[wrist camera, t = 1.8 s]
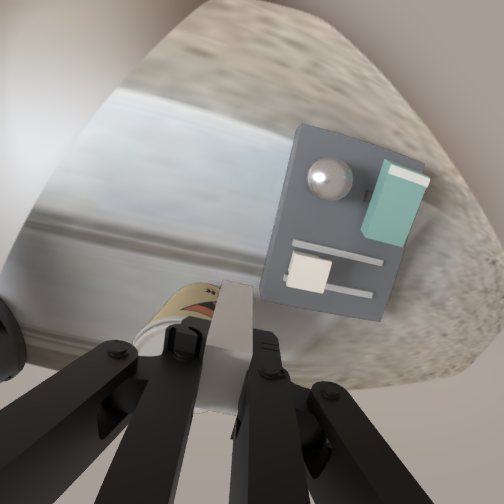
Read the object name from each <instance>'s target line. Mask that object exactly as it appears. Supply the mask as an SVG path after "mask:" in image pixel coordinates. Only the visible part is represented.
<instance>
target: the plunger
mask: <svg viewBox="0 0 504 504" xmlns="http://www.w3.org/2000/svg"><path fill="white" fill-rule="evenodd" d="M304 179H305V185H306V187H307V189H308V190H309V192H310V193H311V194H313V195H314V196H316V197H318V198H321V199H325V200H329V201H336V200H339V199H342V198H343V197H345V196H346V195H347V194H348V193H349V191H350V190H351V187H352V184H353V175H352V171H351V169H350V167H349V166H348V165H347V164H346V163H345V162H344V161H343V160H341V159H339V158H336V157H326V158H322V159H319V160H316V161H314V162H312V163H311V164H310V165H309V166H308V168H307V169H306V172H305V177H304Z"/></svg>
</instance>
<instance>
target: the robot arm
mask: <svg viewBox="0 0 504 504" xmlns="http://www.w3.org/2000/svg"><path fill="white" fill-rule="evenodd" d="M279 351H280V349H279V343H278V338H277V337H276V336H275V335H274V334H273V332H269V331H264V330H259V329H253V286H249V285H244V284H240V283H235V282H230V281H226V280H223V282H222V285H221V289H220V293H219V296H218V300H217V303H216V307H215V310H214V314H213V318H212V321H211V320H206V319H202V318H198V317H193V316H188V317H186V318H185V319H183V320H182V322H181V324H173V325H170V326H168V327H167V328H166V330H165V338H164V347H163V352H162V354H161V355H158V356H138V350H137V349H136V347H135V346H133V345H132V344H130V343H128V342H124V341H121V340H110V341H106V342H103V343H101V344H100V345H98V346H97V347H95V348H94V349H92V350H91V351H89V352H88V353H86V354H84V355H83V356H81V357H80V358H78V359H77V360H75V361H74V362H72V363H71V364H69V365H68V366H66V367H65V368H63V369H62V370H60V371H59V372H57V373H56V374H54V375H53V376H51V377H50V378H48V379H46V380H45V381H43V382H42V383H41V384H39V385H38V386H36V387H34V388H33V389H32V390H30V391H28V392H27V393H26V394H24V395H22V396H21V397H19V398H18V399H16V400H15V401H13V402H12V403H10V404H9V405H7V406H6V407H4V408H3V409H1V410H0V504H53V503H54V502H55V501H56V500H57V499H58V498H59V497H60V495H62V493H64V491H66V489H67V488H68V487H69V486H70V485H71V484H72V483H73V482H74V481H75V480H76V479H77V478H78V477H79V476H80V475H81V474H82V473H83V472H84V471H85V470H86V469H87V468H88V466H90V464H91V463H92V462H93V461H94V460H95V459H96V458H97V457H98V456H99V455H100V454H101V453H102V451H104V450H105V448H106V447H107V446H108V445H109V444H110V443H111V442H112V441H113V440H114V439H115V438H116V437H117V436H118V435H119V433H120V432H121V431H122V430H123V429H124V428H125V427H126V426H127V425H128V427H127V429H126V431H125V433H124V435H123V438H122V440H121V442H120V444H119V447H118V449H117V451H116V453H115V456H114V458H113V460H112V463H111V465H110V467H109V469H108V472H107V474H106V476H105V479H104V481H103V483H102V486H101V488H100V490H99V493H98V495H97V498H96V500H95V502H94V504H174V499H175V494H176V490H177V485H178V480H179V476H180V471H181V467H182V462H183V458H184V453H185V448H186V444H187V440H188V435H189V431H190V426H191V422H192V417H193V412H194V408H199V409H203V410H208V411H213V412H218V413H223V414H229V415H235V416H236V413H237V409H238V414H237V418H236V422H235V425H234V429H233V432H232V435H231V439H233V452H232V466H231V480H230V495H229V504H310V498H309V492H310V494H311V496H312V498H313V500H314V502H315V504H434V503H433V502H432V500H431V499H430V498H429V497H428V495H427V494H426V493H425V491H424V490H423V489H422V488H421V486H420V485H419V484H418V482H417V481H416V480H415V479H414V477H413V476H412V475H411V473H410V472H409V471H408V470H407V468H406V467H405V466H404V464H403V463H402V462H401V460H400V459H399V458H398V457H397V455H396V454H395V453H394V451H393V450H392V449H391V448H390V446H389V445H388V444H387V442H386V441H385V440H384V439H383V437H382V436H381V435H380V433H379V432H378V431H377V429H376V428H375V427H374V425H373V424H372V423H371V422H370V420H369V419H368V418H367V416H366V415H365V414H364V412H363V411H362V410H361V408H360V407H359V406H358V405H357V403H356V402H355V401H354V399H353V398H352V397H351V395H350V394H349V393H348V391H346V390H345V389H344V388H343V387H341V386H340V385H338V384H336V383H333V382H326V381H321V382H317V383H315V384H314V385H313V386H312V388H311V390H310V389H307V388H304V387H301V386H299V385H296V384H294V383H293V382H291V381H290V376H289V374H288V372H287V371H286V370H285V369H284V368H283V367H282V363H281V356H280V352H279ZM25 361H26V349H25V344H24V340H23V336H22V333H21V331H20V328H19V326H18V324H17V322H16V320H15V318H14V317H13V315H12V313H11V312H10V310H9V309H8V308H7V306H6V305H5V304H4V303H3V302H2V300H1V299H0V383H1V382H3V381H8V380H11V379H12V378H14V377H15V376H16V375H17V374H18V373H19V372H20V371H21V370H22V369H23V367H24V365H25ZM308 490H309V491H308Z"/></svg>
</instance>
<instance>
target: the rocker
mask: <svg viewBox="0 0 504 504" xmlns="http://www.w3.org/2000/svg"><path fill="white" fill-rule="evenodd" d="M429 182H430V177H428V176H427V175H425V174H424V173H422V172H420V171H417V170H414V169H412V168H409V167H406V166H404V165H401V164H398V163H395V162H392V161H390V160H387V159H384V162H383V165H382V168H381V171H380V174H379V177H378V180H377V183H376V186H375V189H374V192H373V195H372V198H371V201H370V204H369V207H368V210H367V212H366V215H365V218H364V221H363V223H362V226H361V229H360V230H361V231H362V233H363V235H364V236H365V238H369V239H373V240H377V241H380V242H384V243H388V244H392V245H395V246H399V247H403V245H404V243H405V241H406V238H407V236H408V233H409V231H410V228H411V226H412V224H413V221H414V218H415V216H416V213H417V211H418V208H419V206H420V203H421V200H422V197H423V195H424V192H425V189H426V187H428V185H429Z"/></svg>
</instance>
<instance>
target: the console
mask: <svg viewBox="0 0 504 504" xmlns="http://www.w3.org/2000/svg"><path fill="white" fill-rule="evenodd" d="M326 157H336V158H339V159H341V160H343V161H344V162H345V163H346V164H347V165H348V166H349V167H350V169H351V171H352V175H353V184H352V187H351V190H350V191H349V193H348V194H347V195H346V196H345V197H343V198H342V199H339V200H336V201H329V200H325V199H321V198H318V197H316V196H314V195H313V194H311V193H310V192H309V190H308V189H307V187H306V185H305V179H304V177H305V172H306V169H307V168H308V166H309V165H310V164H311V163H312V162H314V161H316V160H319V159H322V158H326ZM384 159H387V160H390V161H392V162H395V163H398V164H401V165H404V166H406V167H409V168H412V169H414V170H417V171H420V172H422V173H423V170H424V165H425V163H422V162H420V161H417V160H415V159H412V158H409V157H407V156H404V155H401V154H399V153H396V152H393V151H390V150H388V149H385V148H382V147H379V146H376V145H373V144H370V143H367V142H364V141H361V140H358V139H355V138H352V137H348V136H345V135H342V134H338V133H335V132H332V131H328V130H325V129H321V128H317V127H314V126H310V125H306V124H303V123H302V124H301V125H300V126H299V127H298V128H297V129H296V133H295V137H294V142H293V146H292V151H291V155H290V159H289V164H288V168H287V172H286V177H285V181H284V185H283V190H282V194H281V198H280V203H279V207H278V211H277V215H276V220H275V224H274V228H273V232H272V236H271V241H270V245H269V249H268V253H267V257H266V262H265V266H264V270H263V274H262V278H261V282H260V286H259V288H260V300H262V301H267V302H272V303H277V304H282V305H288V306H293V307H298V308H303V309H309V310H314V311H319V312H325V313H330V314H336V315H342V316H347V317H353V318H359V319H365V320H371V321H377V322H380V321H381V319H382V316H383V313H384V310H385V308H386V305H387V302H388V299H389V296H390V293H391V290H392V287H393V284H394V281H395V278H396V275H397V272H398V269H399V265H400V262H401V259H402V255H403V252H404V248H405V245H406V241H407V238H408V236H407V238H406V241H405V243H404V245H403V247H399V246H395V245H392V244H388V243H384V242H380V241H377V240H373V239H369V238H365V236H364V235H363V233H362V231H361V230H360V229H361V226H362V223H363V221H364V218H365V215H366V212H367V210H368V207H369V204H370V201H371V198H372V195H373V192H374V189H375V186H376V183H377V180H378V177H379V174H380V171H381V168H382V165H383V162H384ZM408 234H409V233H408ZM293 250H295V251H299V252H304V253H308V254H313V255H317V256H319V258H322V259H326V260H331V261H332V265H331V269H330V272H329V276H328V279H327V282H326V286H325V289H324V292H323V294H322V293H317V292H312V291H307V290H302V289H297V288H292V287H287V286H286V282H287V278H288V275H289V272H288V268H289V265H290V261H291V257H292V253H293Z"/></svg>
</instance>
